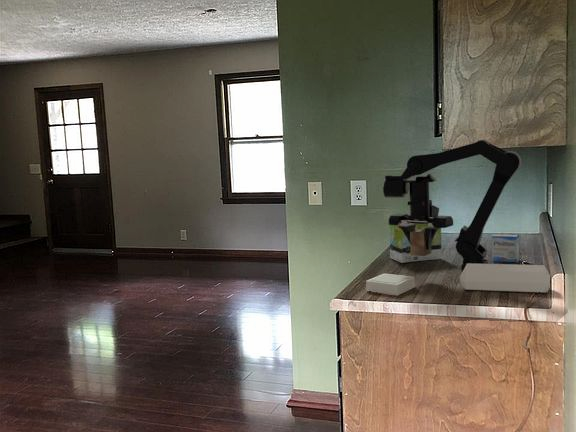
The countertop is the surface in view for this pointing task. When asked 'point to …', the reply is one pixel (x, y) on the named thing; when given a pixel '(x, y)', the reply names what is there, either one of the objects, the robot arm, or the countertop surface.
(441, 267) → the countertop surface
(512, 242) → the medicine box
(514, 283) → the crystal
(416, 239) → the walnut block
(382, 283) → the base slab
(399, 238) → the tea box
